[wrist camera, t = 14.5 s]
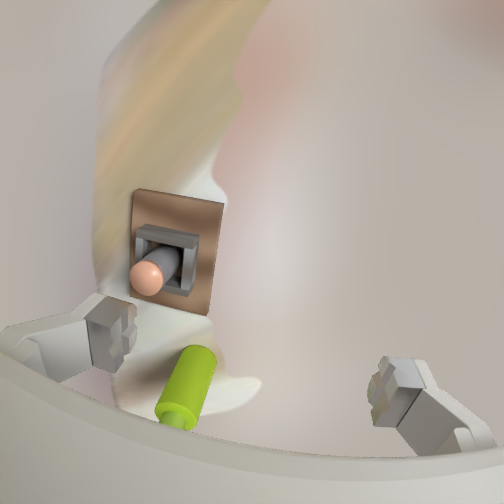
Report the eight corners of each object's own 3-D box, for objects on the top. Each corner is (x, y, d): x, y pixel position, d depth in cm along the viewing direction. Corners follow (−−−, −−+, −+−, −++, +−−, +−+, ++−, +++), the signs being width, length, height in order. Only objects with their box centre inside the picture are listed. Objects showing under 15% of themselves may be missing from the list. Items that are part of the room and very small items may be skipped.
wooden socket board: (139, 188, 41) (123, 194, 36) (224, 203, 40) (216, 211, 36) (134, 292, 46) (121, 305, 42) (208, 311, 46) (200, 327, 42)
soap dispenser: (170, 352, 50) (121, 443, 31) (204, 340, 48) (161, 440, 29) (189, 377, 51) (151, 470, 32) (223, 367, 49) (192, 467, 30)
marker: (157, 238, 41) (130, 259, 34) (185, 245, 41) (162, 268, 33) (155, 265, 43) (128, 290, 35) (181, 273, 42) (159, 299, 35)
